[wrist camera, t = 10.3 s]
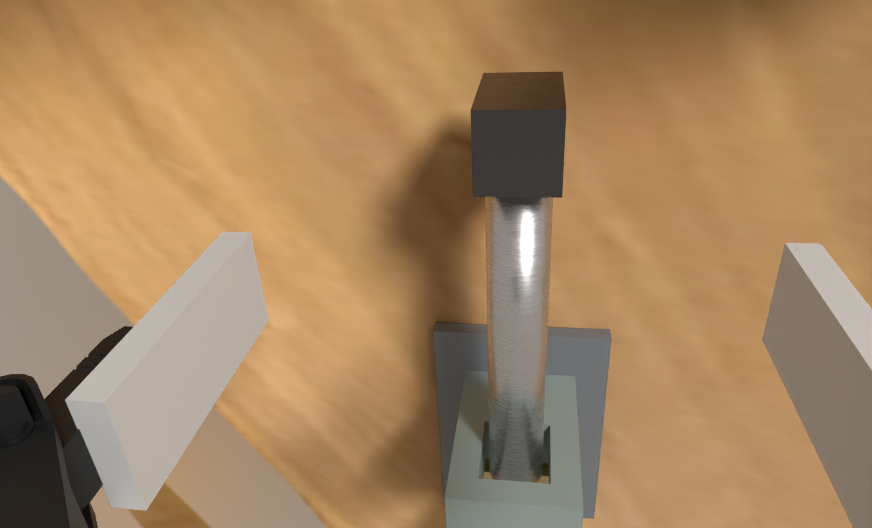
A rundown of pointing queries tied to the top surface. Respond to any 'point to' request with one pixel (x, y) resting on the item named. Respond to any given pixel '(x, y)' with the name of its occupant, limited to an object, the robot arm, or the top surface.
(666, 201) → the top surface
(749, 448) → the top surface
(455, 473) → the bearing stand
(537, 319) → the shaft
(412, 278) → the top surface
